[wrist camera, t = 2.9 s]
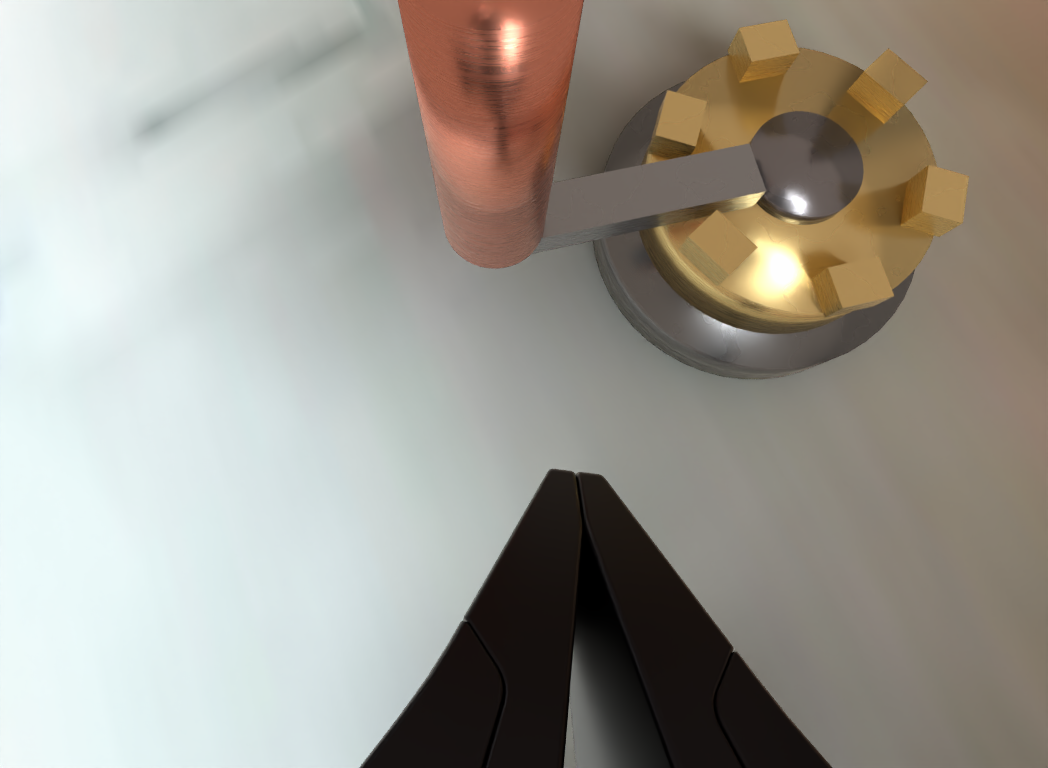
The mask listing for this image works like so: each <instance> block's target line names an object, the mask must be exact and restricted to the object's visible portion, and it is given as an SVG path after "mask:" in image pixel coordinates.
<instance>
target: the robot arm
mask: <svg viewBox="0 0 1048 768" xmlns="http://www.w3.org/2000/svg"><path fill="white" fill-rule="evenodd" d="M732 652H733V646H732V645H731V643H730V642H729V641H728V639H727V638H726V637H725V635H724V634H723V633H722V632H721V630H720V629H719V628H718V626H717V625H716V624H715V622H714V621H713V620H712V618H711V617H710V616H709V614H708V613H707V612H706V610H705V609H704V608H703V607H702V605H701V604H700V603H699V601H698V600H697V599H696V597H695V596H694V595H693V593H692V592H691V591H690V589H689V588H688V587H687V585H686V584H685V583H684V582H683V580H682V579H681V578H680V576H679V575H678V574H677V572H676V571H675V570H674V568H673V567H672V566H671V564H670V563H669V562H668V560H667V559H666V558H665V557H664V555H663V554H662V553H661V551H660V550H659V549H658V547H657V546H656V545H655V543H654V542H653V541H652V539H651V538H650V537H649V536H648V534H647V533H646V532H645V530H644V529H643V528H642V526H641V525H640V524H639V522H638V521H637V520H636V518H635V517H634V516H633V514H632V513H631V512H630V511H629V509H628V508H627V507H626V505H625V504H624V503H623V501H622V500H621V499H620V497H619V496H618V495H617V493H616V492H615V491H614V489H613V488H612V487H611V486H610V484H609V483H608V482H607V480H606V479H605V478H604V477H603V476H602V475H599V474H592V473H584V472H579V473H577V474H576V475H575V473H574V472H573V471H567V470H559V469H550V470H549V471H548V472H547V474H546V476H545V477H544V479H543V481H542V482H541V484H540V486H539V488H538V489H537V491H536V493H535V495H534V496H533V498H532V500H531V502H530V503H529V505H528V507H527V509H526V510H525V512H524V514H523V515H522V517H521V519H520V521H519V522H518V524H517V526H516V528H515V529H514V531H513V533H512V535H511V536H510V538H509V540H508V542H507V543H506V545H505V547H504V548H503V550H502V552H501V554H500V555H499V557H498V559H497V561H496V562H495V564H494V566H493V568H492V569H491V571H490V573H489V575H488V576H487V578H486V580H485V581H484V583H483V585H482V587H481V588H480V590H479V592H478V594H477V595H476V597H475V599H474V601H473V602H472V604H471V606H470V608H469V609H468V611H467V613H466V614H465V616H464V620H463V621H462V622H461V623H460V624H459V626H458V628H457V629H456V631H455V633H454V635H453V636H452V638H451V640H450V641H449V643H448V645H447V646H446V648H445V650H444V651H443V653H442V654H441V656H440V658H439V659H438V661H437V662H436V664H435V666H434V667H433V669H432V670H431V672H430V674H429V675H428V677H427V678H426V680H425V681H424V682H423V684H422V685H421V687H420V688H419V689H418V691H417V692H416V694H415V695H414V696H413V698H412V699H411V700H410V702H409V703H408V705H407V706H406V707H405V709H404V710H403V712H402V713H401V714H400V716H399V717H398V718H397V720H396V721H395V722H394V723H393V725H392V726H391V727H390V729H389V730H388V731H387V733H386V734H385V735H384V736H383V738H382V739H381V740H380V742H379V743H378V744H377V746H376V747H375V748H374V749H373V751H372V752H371V753H370V755H369V756H368V757H367V758H366V760H365V761H364V762H363V764H362V765H361V766H360V768H564V756H565V744H566V732H567V720H568V708H569V696H570V705H571V716H572V727H573V739H574V750H575V761H576V768H832V767H831V766H830V764H829V763H828V762H827V761H826V760H825V759H824V758H823V756H822V755H821V754H820V753H819V752H818V751H817V750H816V748H815V747H814V746H813V745H812V744H811V743H810V741H809V740H808V739H807V738H806V737H805V736H804V735H803V733H802V732H801V731H800V730H799V729H798V728H797V726H796V725H795V724H794V723H793V722H792V721H791V719H790V718H789V717H788V716H787V715H786V714H785V712H784V711H783V710H782V709H781V707H780V706H779V705H778V703H777V702H776V701H775V700H774V698H773V697H772V696H771V695H770V693H769V692H768V691H767V690H766V688H765V687H764V686H763V685H762V683H761V682H760V681H759V680H758V678H757V677H756V676H755V675H754V673H753V672H752V671H751V669H750V668H749V667H748V665H747V664H746V663H745V661H744V660H743V659H742V657H741V656H740V655H739V653H737V652H733V653H732Z"/></svg>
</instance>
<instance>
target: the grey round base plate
mask: <svg viewBox="0 0 1048 768" xmlns="http://www.w3.org/2000/svg"><path fill="white" fill-rule="evenodd" d="M685 82H686V81H684V82H682V83H680V84H678V85H676V86H674V87H672V88H670V89H668V90H669V91H673V92H677V91H678V89H679V88H680V87H681V86H682V85H683V84H684V83H685ZM666 93H667V90H666V91H664V92H663V93H661V94H660V95H658V96H657V97H655V98H654V99H652V100H651V101H650V102H649V103H647V104H646V105H645V106H644V107H643V108H642V109H641V110H640V111H639V112H638V113H636V115H635V116H634V117H633V118H632V119H631V121H630V122H629V123H628V124H627V126H626V127H625V128H624V130H623V131H622V133H621V135H620V136H619V138H618V140H617V141H616V143H615V145H614V147H613V150H612V152H611V154H610V157H609V159H608V162H607V165H606V168H605V171H604V172H609V171H614V170H619V169H624V168H629V167H634V166H639V165H641V164H642V161H643V158H644V156H645V153H646V151H647V149H648V146H649V144H650V142H651V138H652V135H653V131H654V127H655V123H656V120H657V116H658V112H659V109H660V107H661V104H662V102H663V100H664V97H665V95H666ZM593 243H594V248H595V254H596V260H597V263H598V266H599V269H600V272H601V276H602V278H603V280H604V282H605V285H606V287H607V289H608V291H609V293H610V295H611V297H612V298H613V300H614V301H615V303H616V305H617V306H618V308H619V309H620V311H621V312H622V313H623V315H624V316H625V317H626V318H627V319H628V321H629V322H630V323H631V324H632V326H633V327H634V328H635V329H636V330H637V331H639V332H640V333H641V334H642V335H643V336H644V337H645V338H646V339H647V340H648V341H649V342H651V343H652V344H653V345H655V346H656V347H658V348H659V349H660V350H662V351H663V352H664V353H666V354H668V355H669V356H671V357H673V358H675V359H677V360H678V361H680V362H682V363H684V364H686V365H689V366H691V367H694V368H696V369H699V370H701V371H704V372H708V373H712V374H715V375H719V376H724V377H731V378H738V379H768V378H776V377H783V376H787V375H790V374H794V373H798V372H801V371H804V370H806V369H809V368H811V367H814V366H816V365H819V364H821V363H824V362H826V361H829V360H831V359H833V358H836V357H838V356H840V355H843V354H845V353H848V352H849V351H851V350H853V349H854V348H856V347H858V346H859V345H861V344H862V343H864V342H866V341H867V340H868V339H869V338H870V337H872V336H873V335H874V334H875V333H876V332H878V331H879V330H880V329H881V328H882V327H883V326H884V325H885V323H886V322H887V321H888V320H889V319H890V318H891V317H892V315H893V314H894V313H895V311H896V310H897V308H898V307H899V305H900V303H901V302H902V300H903V299H904V297H905V295H906V292H907V290H908V288H909V286H910V283H911V281H912V278H913V274H914V270H915V269H914V270H913V272H912V273H911V274H910V275H909V276H908V277H907V278H906V279H905V280H904V281H902V282H901V283H900V284H899V285H898V286H897V287H895V288H894V289H892V291H893V294H894V296H893V297H891V298H889V299H887V300H885V301H883V302H881V303H879V304H877V305H875V306H873V307H869V308H864V309H860V310H856V311H852V312H850V313H848V314H846V315H844V316H843V317H841V318H839V319H837V320H834V321H832V322H830V323H828V324H826V325H824V326H821V327H818V328H815V329H811V330H808V331H803V332H797V333H791V334H766V333H756V332H751V331H747V330H742V329H738V328H735V327H732V326H729V325H727V324H724V323H721V322H719V321H717V320H715V319H713V318H711V317H709V316H707V315H705V314H703V313H702V312H700V311H699V310H697V309H696V308H694V307H693V306H691V305H690V304H689V303H687V302H686V301H685V300H684V299H683V298H682V297H680V296H679V295H678V294H677V293H676V292H675V291H674V290H673V289H672V288H671V287H670V286H669V285H668V284H667V282H666V281H665V280H664V279H663V278H662V276H661V275H660V273H659V272H658V271H657V269H656V268H655V266H654V265H653V263H652V261H651V259H650V257H649V256H648V254H647V252H646V250H645V247H644V245H643V242H642V239H641V237H640V234H639V231H636V232H631V233H626V234H621V235H617V236H612V237H607V238H603V239H598V240H593Z"/></svg>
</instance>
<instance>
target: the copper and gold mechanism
mask: <svg viewBox="0 0 1048 768" xmlns="http://www.w3.org/2000/svg"><path fill="white" fill-rule="evenodd" d="M583 2H584V0H398V3H399V8H400V13H401V18H402V23H403V28H404V33H405V38H406V43H407V48H408V53H409V58H410V63H411V67H412V72H413V77H414V82H415V87H416V92H417V97H418V102H419V107H420V112H421V117H422V122H423V126H424V131H425V136H426V141H427V146H428V151H429V156H430V161H431V166H432V171H433V176H434V181H435V186H436V190H437V195H438V200H439V205H440V210H441V215H442V220H443V225H444V230H445V234H446V237H447V239H448V241H449V243H450V245H451V246H452V248H453V249H454V250H455V251H456V252H457V253H458V254H459V255H460V256H461V257H462V258H464V259H465V260H466V261H468V262H470V263H472V264H474V265H477V266H480V267H485V268H505V267H509V266H512V265H515V264H517V263H519V262H521V261H523V260H524V259H526V258H527V257H528V256H529V255H530V254H532V253H537V252H541V251H546V250H551V249H555V248H560V247H565V246H570V245H574V244H579V243H584V242H588V241H593V240H598V239H603V238H607V237H612V236H617V235H621V234H626V233H631V232H636V231H639V234H640V237H641V239H642V242H643V245H644V247H645V250H646V252H647V254H648V256H649V257H650V259H651V261H652V263H653V265H654V266H655V268H656V269H657V271H658V272H659V273H660V275H661V276H662V278H663V279H664V280H665V281H666V282H667V284H668V285H669V286H670V287H671V288H672V289H673V290H674V291H675V292H676V293H677V294H678V295H679V296H680V297H682V298H683V299H684V300H685V301H686V302H687V303H689V304H690V305H691V306H693V307H694V308H696V309H697V310H699V311H700V312H702V313H703V314H705V315H707V316H709V317H711V318H713V319H715V320H717V321H719V322H721V323H724V324H727V325H729V326H732V327H735V328H738V329H742V330H747V331H751V332H756V333H766V334H791V333H797V332H803V331H808V330H811V329H815V328H818V327H821V326H824V325H826V324H828V323H830V322H832V321H834V320H837V319H839V318H841V317H843V316H844V315H846V314H848V313H850V312H852V311H856V310H860V309H864V308H869V307H873V306H875V305H877V304H879V303H881V302H883V301H885V300H887V299H889V298H891V297H893V296H894V294H893V291H892V289H894V288H895V287H897V286H898V285H899V284H900V283H901V282H902V281H904V280H905V279H906V278H907V277H908V276H909V275H910V274H911V273H912V272H913V270H914V269H915V268H916V267H917V265H918V264H919V263H920V262H921V260H922V259H923V257H924V255H925V253H926V252H927V250H928V248H929V246H930V244H931V241H932V239H933V236H938V237H940V236H941V235H943V234H945V233H946V232H948V231H950V230H952V229H953V228H955V227H957V226H958V225H960V224H962V223H963V217H964V209H965V202H966V194H967V186H968V179H969V176H967V175H963V174H959V173H956V172H952V171H949V170H945V169H942V168H938V167H937V165H936V161H935V158H934V155H933V153H932V150H931V147H930V144H929V142H928V140H927V138H926V136H925V134H924V132H923V130H922V128H921V127H920V125H919V124H918V122H917V121H916V119H915V118H914V116H913V115H912V113H911V112H910V111H909V110H908V109H907V107H906V106H905V105H904V104H905V103H906V102H907V101H908V100H909V99H910V98H911V97H912V96H913V95H915V94H916V93H917V92H918V91H919V90H920V89H921V88H922V87H923V86H924V85H925V84H926V83H927V82H928V81H927V80H925V79H924V78H923V77H922V76H921V75H919V74H918V73H917V72H916V71H915V70H914V69H912V68H911V67H910V66H909V65H908V64H906V63H905V62H904V61H903V60H902V59H901V58H899V57H898V56H897V55H896V54H895V53H893V52H892V51H891V50H890V49H889V48H888V49H887V50H886V51H885V52H884V53H883V54H882V55H881V56H880V57H879V58H878V59H877V60H876V61H875V62H873V63H872V64H871V65H870V66H869V67H868V68H867V69H866V70H865V71H863V70H862V69H860V68H858V67H857V66H855V65H853V64H850V63H848V62H846V61H844V60H842V59H840V58H837V57H834V56H831V55H828V54H825V53H823V52H818V51H814V50H809V49H805V48H798V47H797V45H796V42H795V39H794V37H793V34H792V32H791V29H790V27H789V24H788V21H787V19H786V20H781V21H775V22H770V23H764V24H758V25H753V26H747V27H742V28H739V30H738V31H737V33H736V35H735V37H734V39H733V41H732V43H731V45H730V47H729V49H728V53H729V55H727V56H725V57H722V58H720V59H717V60H716V61H714V62H712V63H710V64H708V65H707V66H705V67H703V68H702V69H701V70H699V71H698V72H697V73H695V74H694V75H693V76H691V77H690V78H689V79H688V80H687V81H686V82H685V83H684V84H683V85H682V86H681V87H680V88H679V89H678V91H677V92H673V91H669V90H667V93H666V95H665V97H664V100H663V102H662V104H661V107H660V109H659V112H658V116H657V120H656V123H655V127H654V131H653V135H652V138H651V142H650V144H649V146H648V149H647V151H646V153H645V156H644V158H643V161H642V164H641V165H639V166H634V167H629V168H624V169H619V170H614V171H609V172H604V173H599V174H594V175H589V176H584V177H579V178H574V179H569V180H564V181H559V182H554V183H552V180H553V174H554V169H555V163H556V157H557V151H558V146H559V140H560V134H561V128H562V123H563V117H564V111H565V105H566V100H567V94H568V88H569V82H570V77H571V71H572V65H573V59H574V54H575V48H576V42H577V36H578V31H579V25H580V19H581V13H582V8H583Z"/></svg>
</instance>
